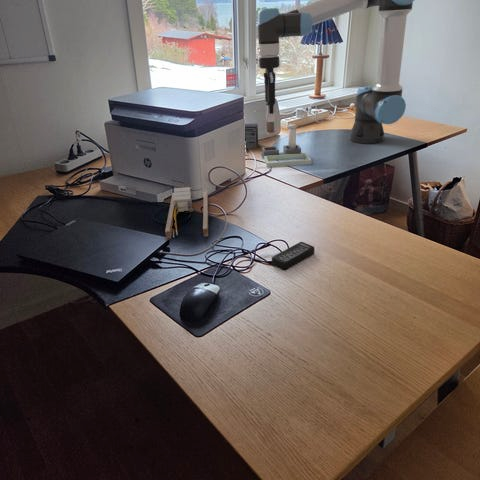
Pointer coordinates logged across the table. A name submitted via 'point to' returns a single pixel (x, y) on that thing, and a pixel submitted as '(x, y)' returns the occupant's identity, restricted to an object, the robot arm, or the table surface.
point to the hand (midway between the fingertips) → (270, 120)
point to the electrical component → (182, 202)
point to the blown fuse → (270, 127)
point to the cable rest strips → (171, 216)
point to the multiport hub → (292, 255)
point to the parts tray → (287, 163)
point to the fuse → (292, 136)
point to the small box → (251, 135)
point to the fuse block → (274, 151)
